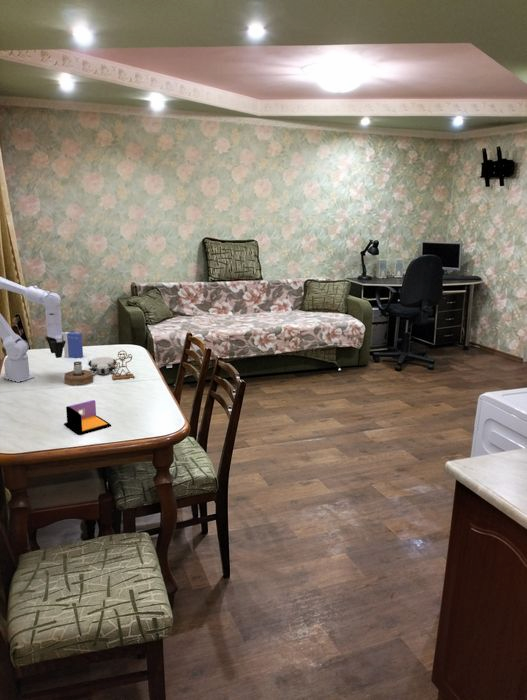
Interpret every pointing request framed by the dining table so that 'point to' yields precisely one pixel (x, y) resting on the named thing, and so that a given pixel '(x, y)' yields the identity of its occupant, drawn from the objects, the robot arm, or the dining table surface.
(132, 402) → the dining table surface
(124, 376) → the cartoon figure standee
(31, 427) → the dining table surface
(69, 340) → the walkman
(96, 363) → the robot toy
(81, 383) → the walnut bead
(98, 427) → the dollhouse room
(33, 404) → the dining table surface
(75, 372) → the metal cylinder
